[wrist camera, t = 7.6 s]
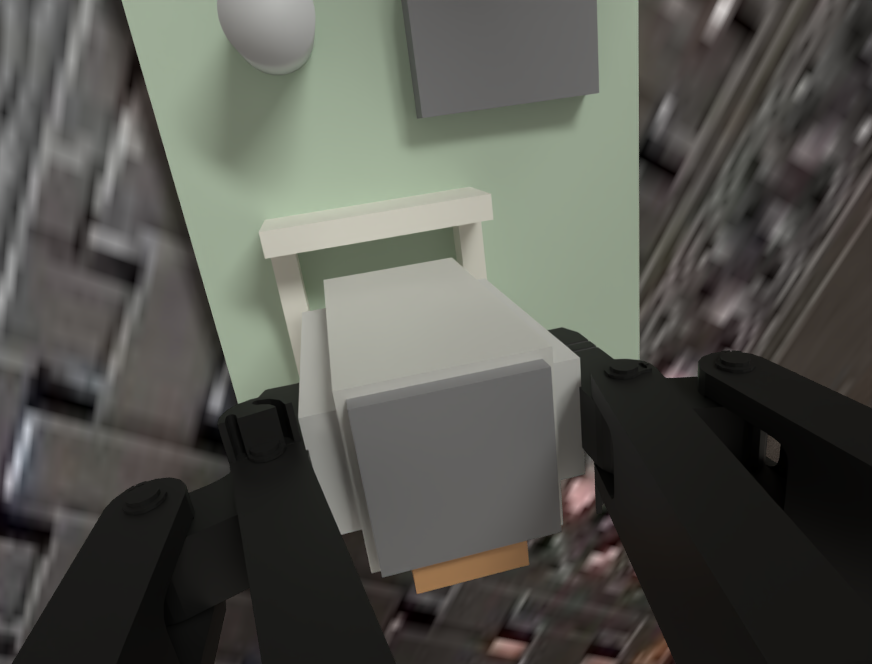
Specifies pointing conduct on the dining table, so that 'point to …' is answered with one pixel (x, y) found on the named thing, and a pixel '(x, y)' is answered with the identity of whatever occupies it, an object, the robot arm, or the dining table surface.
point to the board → (399, 155)
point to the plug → (443, 422)
